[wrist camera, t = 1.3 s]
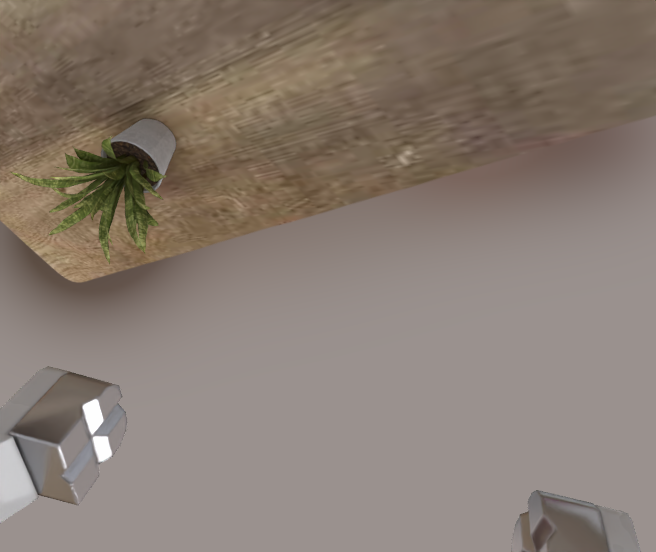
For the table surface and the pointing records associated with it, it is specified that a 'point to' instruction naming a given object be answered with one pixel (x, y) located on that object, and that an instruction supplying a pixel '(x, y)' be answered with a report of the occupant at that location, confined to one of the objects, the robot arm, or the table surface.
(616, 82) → the table surface
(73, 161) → the house plant
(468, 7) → the table surface
